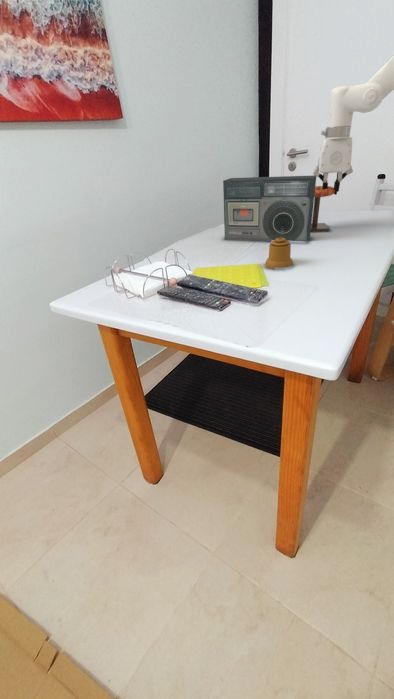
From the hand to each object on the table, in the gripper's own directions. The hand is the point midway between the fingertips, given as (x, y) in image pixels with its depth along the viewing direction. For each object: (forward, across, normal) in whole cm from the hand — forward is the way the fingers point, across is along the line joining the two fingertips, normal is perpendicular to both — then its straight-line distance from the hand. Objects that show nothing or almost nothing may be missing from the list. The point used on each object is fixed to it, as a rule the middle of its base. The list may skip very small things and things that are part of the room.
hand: (329, 193), depth 120 cm
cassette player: (+13, -22, -12) cm, 28 cm away
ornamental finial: (+13, -19, -41) cm, 47 cm away
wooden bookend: (+12, -4, 0) cm, 13 cm away
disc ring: (-1, -4, 0) cm, 4 cm away
